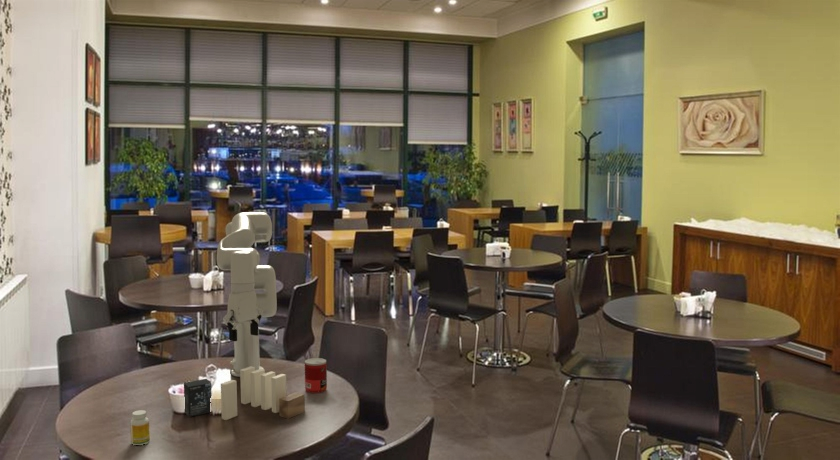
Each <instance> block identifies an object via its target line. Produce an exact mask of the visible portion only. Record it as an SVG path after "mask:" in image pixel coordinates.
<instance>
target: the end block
mask: <svg viewBox="0 0 840 460" xmlns="http://www.w3.org/2000/svg"><path fill="white" fill-rule="evenodd" d="M305 398H306V396H305V394H304V393H302V392H301V393H300V392H296V391H295V392H293V393H290V394H288V395H286V396H285V397H282V398H280V399H279V412H278V413H279V417H282V418H285V419H291V418H293V417H295V416H297V415H298V416H299V415H300V414H302V413H305V412H306V409H305V407H306V405H305V403H306V401H305Z"/></svg>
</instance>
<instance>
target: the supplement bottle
mask: <svg viewBox="0 0 840 460" xmlns="http://www.w3.org/2000/svg"><path fill="white" fill-rule="evenodd" d="M131 413H132V415H131V416H132V419H131V420H130V422H129V424H130V425H129V426H130V430H129V431H130V444H131V445H132V444H133V445H132V446H134V445H142V446H144V445H143V444H145V445H147V444H149V443H150V441H151V440H150V439H151V438H150V420H149V418H148V417H147V410H144V409H141V410H140V409H139V410H134V411H133V412H131ZM148 442H149V443H148Z"/></svg>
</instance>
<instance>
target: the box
mask: <svg viewBox="0 0 840 460" xmlns="http://www.w3.org/2000/svg"><path fill="white" fill-rule="evenodd" d="M183 392H184V393H183V398H184V397H185V409H184V413H185V414H186V415H187V417H189V418H191V417H195V416H199V415H205V414H206V415H207V414H211V412H210V403H211V402H210V398H211V396H212V382H211V381H209V380H208V379H207V378H204V379H197V380H192V381H184V382H183Z"/></svg>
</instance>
